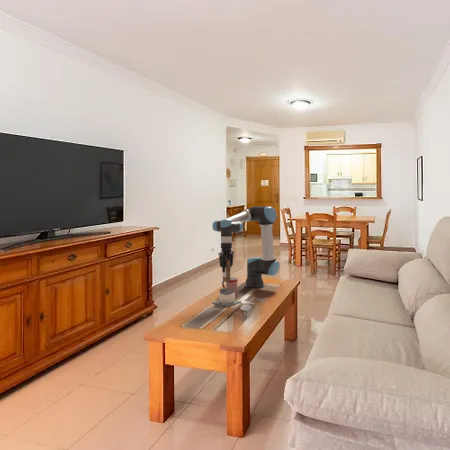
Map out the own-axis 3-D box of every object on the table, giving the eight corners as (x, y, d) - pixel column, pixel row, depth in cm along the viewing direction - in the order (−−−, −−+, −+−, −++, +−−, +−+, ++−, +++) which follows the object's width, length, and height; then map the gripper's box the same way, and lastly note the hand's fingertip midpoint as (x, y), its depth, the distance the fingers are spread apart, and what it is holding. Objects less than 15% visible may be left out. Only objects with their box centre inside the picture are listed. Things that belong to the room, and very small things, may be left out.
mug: (240, 296, 308) (240, 277, 307) (233, 298, 301) (233, 280, 300) (226, 293, 316) (226, 275, 315) (219, 296, 309) (219, 278, 307)
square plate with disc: (226, 299, 300) (226, 285, 299) (241, 302, 290) (241, 288, 289) (212, 303, 290) (212, 289, 289) (227, 306, 280) (227, 292, 279)
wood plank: (225, 280, 291) (225, 259, 290) (230, 281, 288) (230, 259, 287) (222, 281, 289) (222, 259, 288) (227, 282, 286) (227, 260, 285)
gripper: (230, 240, 295) (230, 274, 297) (214, 243, 283) (214, 277, 285) (238, 241, 290) (238, 275, 292) (222, 243, 278) (222, 279, 280)
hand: (226, 276), depth 288 cm, fingers closed on wood plank, 3 cm apart
